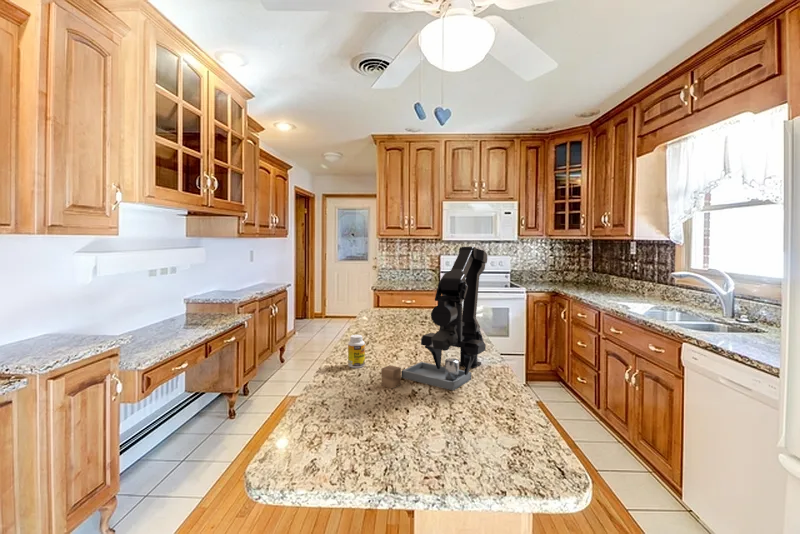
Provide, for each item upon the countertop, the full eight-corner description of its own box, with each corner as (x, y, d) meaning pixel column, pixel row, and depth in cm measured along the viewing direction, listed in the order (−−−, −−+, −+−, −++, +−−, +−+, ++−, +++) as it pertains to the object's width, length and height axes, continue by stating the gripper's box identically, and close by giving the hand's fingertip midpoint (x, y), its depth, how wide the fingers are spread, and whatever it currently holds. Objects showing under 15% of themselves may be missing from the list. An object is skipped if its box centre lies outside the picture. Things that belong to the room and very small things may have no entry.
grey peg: (449, 377, 121) (449, 357, 120) (461, 379, 118) (461, 359, 118) (442, 380, 117) (442, 360, 117) (454, 383, 115) (454, 363, 115)
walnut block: (389, 381, 119) (389, 365, 119) (400, 384, 117) (400, 367, 116) (381, 385, 116) (381, 368, 115) (392, 388, 113) (392, 371, 113)
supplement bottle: (352, 369, 130) (352, 338, 129) (345, 365, 134) (345, 335, 134) (367, 366, 133) (367, 336, 132) (360, 362, 138) (359, 333, 137)
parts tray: (421, 368, 131) (421, 361, 131) (471, 379, 120) (471, 372, 120) (401, 377, 122) (401, 370, 122) (453, 390, 111) (453, 382, 111)
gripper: (410, 320, 116) (410, 373, 117) (468, 328, 105) (468, 386, 106) (430, 314, 125) (430, 363, 126) (486, 321, 114) (486, 375, 115)
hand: (452, 371), depth 118 cm, fingers open, 9 cm apart
